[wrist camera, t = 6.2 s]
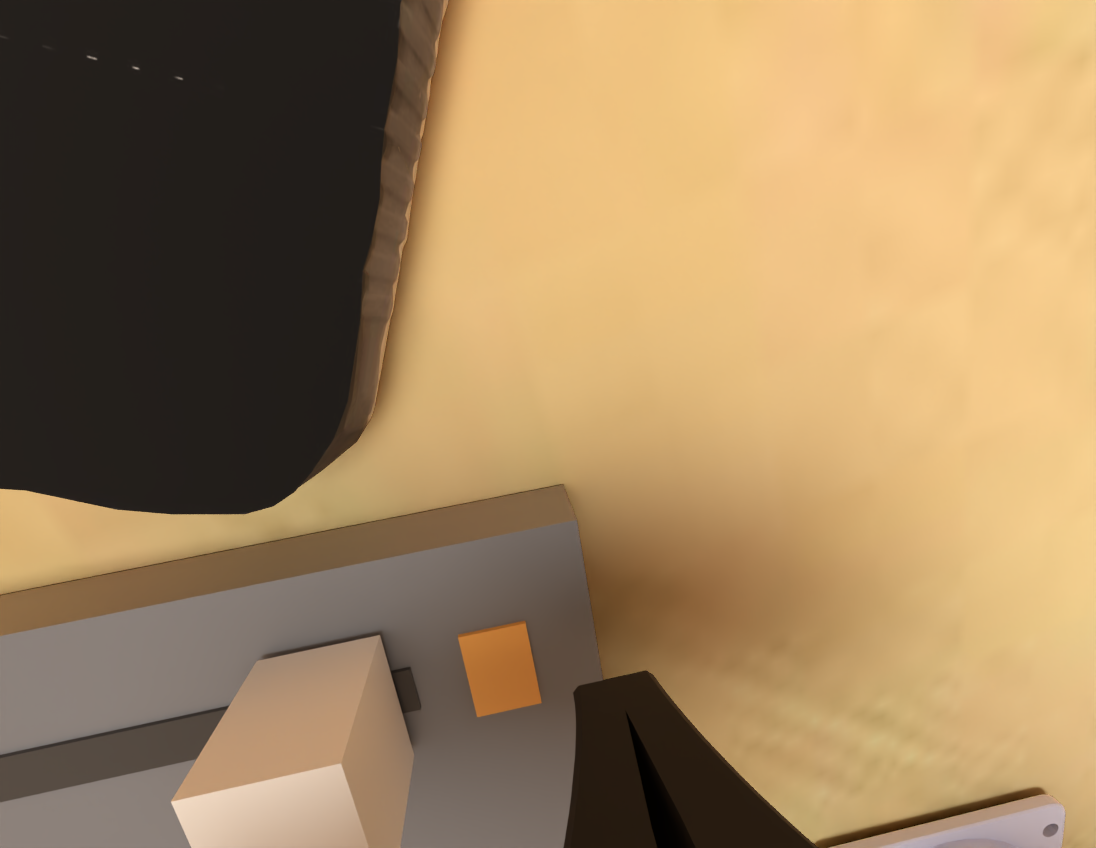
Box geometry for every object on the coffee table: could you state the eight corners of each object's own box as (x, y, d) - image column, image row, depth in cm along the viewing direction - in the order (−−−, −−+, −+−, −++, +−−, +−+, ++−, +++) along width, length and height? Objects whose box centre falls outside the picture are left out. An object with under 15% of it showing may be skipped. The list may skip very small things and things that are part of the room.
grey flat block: (635, 912, 16) (655, 999, 14) (49, 1059, 15) (-18, 1178, 13) (562, 484, 13) (577, 522, 11) (-214, 637, 12) (-361, 711, 10)
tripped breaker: (414, 755, 12) (390, 912, 9) (299, 781, 11) (236, 949, 8) (380, 635, 11) (340, 763, 8) (257, 660, 11) (170, 801, 8)
